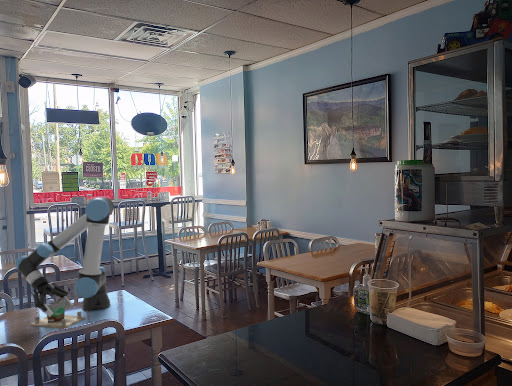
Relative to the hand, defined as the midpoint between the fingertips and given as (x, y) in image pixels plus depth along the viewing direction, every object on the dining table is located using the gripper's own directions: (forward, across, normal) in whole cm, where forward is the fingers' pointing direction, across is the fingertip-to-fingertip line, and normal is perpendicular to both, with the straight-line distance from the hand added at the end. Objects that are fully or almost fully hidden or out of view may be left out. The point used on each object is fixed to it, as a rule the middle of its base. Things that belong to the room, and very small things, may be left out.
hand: (61, 310), depth 210 cm
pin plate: (+3, 0, -6) cm, 7 cm away
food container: (+2, 0, -5) cm, 6 cm away
